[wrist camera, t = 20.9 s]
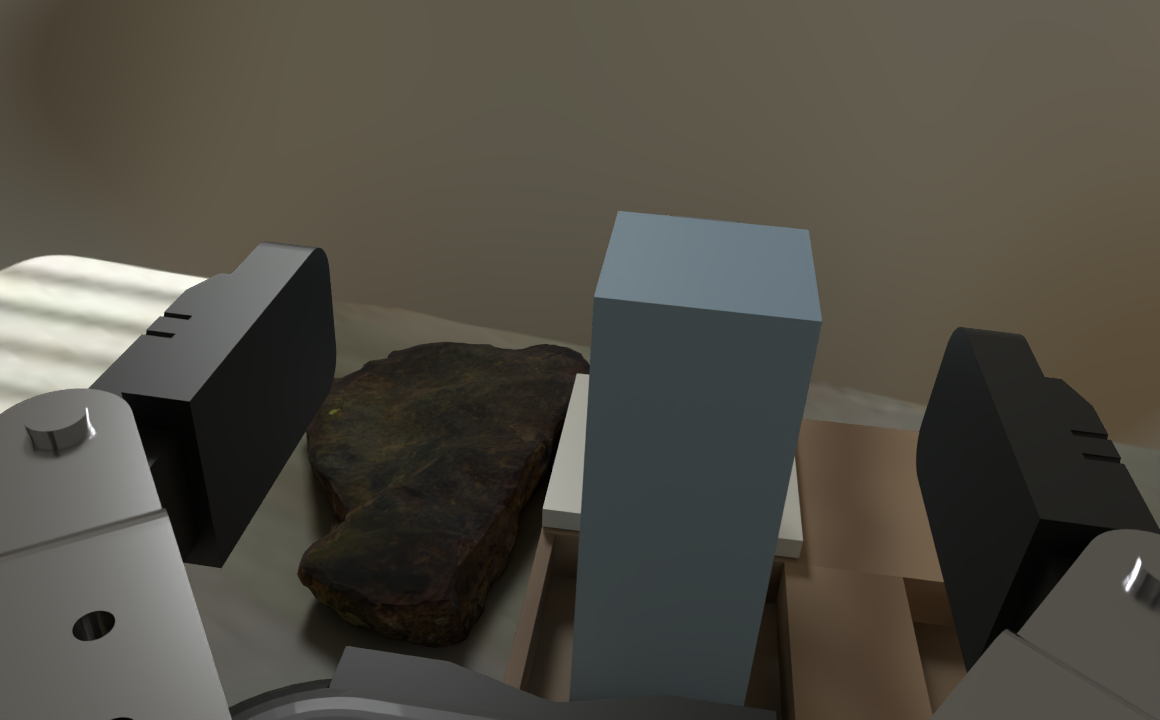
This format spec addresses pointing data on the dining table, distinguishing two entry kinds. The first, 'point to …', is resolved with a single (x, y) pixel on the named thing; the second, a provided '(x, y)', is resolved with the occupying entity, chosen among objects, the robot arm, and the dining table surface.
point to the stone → (431, 480)
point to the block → (688, 451)
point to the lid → (569, 466)
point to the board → (808, 594)
